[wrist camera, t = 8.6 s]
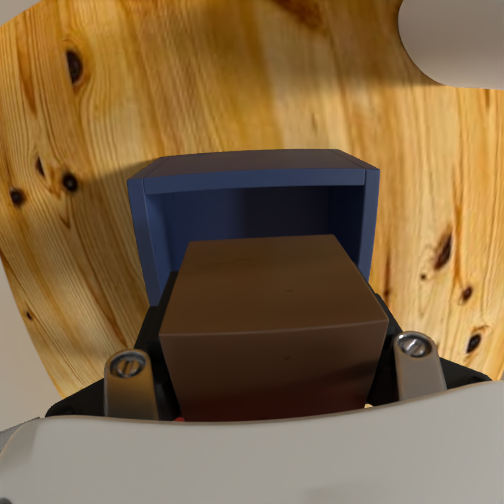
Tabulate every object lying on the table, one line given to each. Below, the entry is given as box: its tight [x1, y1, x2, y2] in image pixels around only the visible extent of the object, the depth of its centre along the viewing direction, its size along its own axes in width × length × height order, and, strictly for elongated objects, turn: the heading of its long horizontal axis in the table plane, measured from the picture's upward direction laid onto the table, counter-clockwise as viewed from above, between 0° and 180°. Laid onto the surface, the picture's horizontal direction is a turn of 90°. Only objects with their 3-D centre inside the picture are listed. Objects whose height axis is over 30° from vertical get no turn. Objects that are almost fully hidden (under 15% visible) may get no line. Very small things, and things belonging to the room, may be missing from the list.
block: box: [159, 234, 389, 422], centre depth 10 cm, size 5×5×5 cm
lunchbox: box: [127, 149, 380, 306], centre depth 20 cm, size 16×12×7 cm
